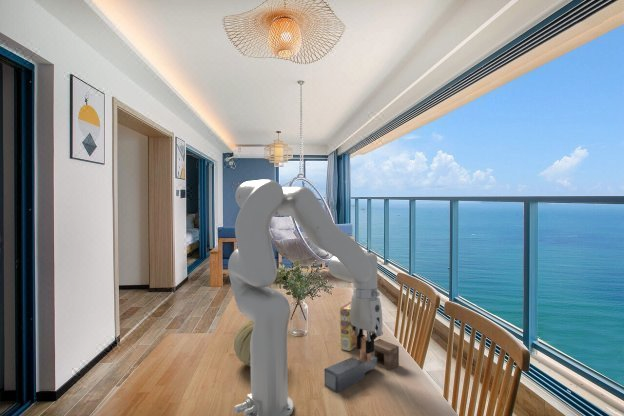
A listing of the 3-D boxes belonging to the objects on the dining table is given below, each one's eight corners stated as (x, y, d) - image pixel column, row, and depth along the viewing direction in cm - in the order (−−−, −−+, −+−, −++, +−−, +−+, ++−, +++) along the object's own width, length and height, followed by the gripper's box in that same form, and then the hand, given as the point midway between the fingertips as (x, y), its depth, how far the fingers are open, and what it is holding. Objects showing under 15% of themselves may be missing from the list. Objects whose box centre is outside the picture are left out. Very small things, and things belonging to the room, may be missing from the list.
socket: (389, 369, 116) (389, 350, 115) (369, 361, 122) (369, 342, 122) (398, 365, 119) (398, 346, 119) (379, 356, 125) (379, 339, 125)
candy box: (350, 351, 129) (350, 309, 129) (339, 349, 131) (339, 307, 131) (360, 342, 137) (359, 302, 137) (349, 340, 139) (349, 301, 139)
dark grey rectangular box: (336, 392, 103) (336, 375, 102) (324, 385, 106) (324, 368, 106) (364, 378, 110) (364, 362, 110) (352, 372, 114) (352, 356, 114)
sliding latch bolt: (341, 383, 105) (341, 350, 105) (334, 379, 108) (334, 346, 107) (377, 366, 116) (377, 336, 115) (370, 363, 118) (370, 333, 118)
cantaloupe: (231, 358, 124) (230, 315, 124) (273, 352, 130) (272, 310, 129) (238, 379, 110) (237, 330, 110) (284, 370, 116) (284, 324, 115)
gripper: (394, 295, 110) (393, 355, 110) (354, 285, 122) (354, 339, 123) (378, 300, 105) (378, 363, 105) (338, 289, 117) (338, 345, 118)
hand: (365, 349), depth 114 cm, fingers closed on sliding latch bolt, 3 cm apart
